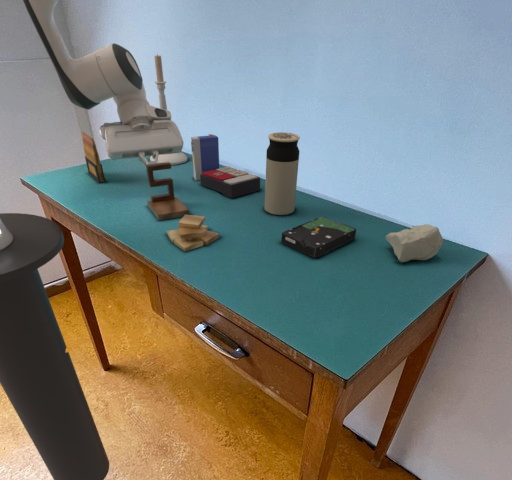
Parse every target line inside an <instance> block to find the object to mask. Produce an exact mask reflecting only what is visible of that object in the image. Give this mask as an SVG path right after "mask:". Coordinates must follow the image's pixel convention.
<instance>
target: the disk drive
mask: <svg viewBox="0 0 512 480" xmlns="http://www.w3.org/2000/svg"><path fill="white" fill-rule="evenodd" d="M356 234H357V228H355V227H352V226H350V225H348V224H344V223H343V222H340V221H338V222H337V221H335V220H332V219H330V218H327V217H326V216H323V217H322V216H320V217H317V218H313V219H312V220H309V221H307V222H304V223H301V224H299V225H297V226H295V227H292V228H290V229H287V230H284V231H282V232H281V239H280V242H281V243H283V244H284V245H286V246H288V247H290V248H292V249H295V250H296V251H299V252H300V253H303V254H305V255H307V256H309V257H311V258H314V259H316V258H318V257H321V256H323V255H324V254H327V253H329V252H330V251H333V250H335V249H336V248H338V247H341V246H343V245H345V244H348V243H349V242H351V241H353V240H355V239H356Z"/></svg>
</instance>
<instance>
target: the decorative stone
mask: <svg viewBox="0 0 512 480" xmlns="http://www.w3.org/2000/svg"><path fill="white" fill-rule="evenodd" d="M385 241H386V242H388V243H389V244H390V245H391V247H392V249H393V254H394V255H395V256H396V257H397V260H398V261H399V263H406V262H409V261H427V260H429V259H431V258H433V257H434V256H436V255H437V254H438V253H439V252H440V249H441V248H442V246H443V244H444V238H443V236H442V233H441V232H440V229H439V227H438V226H433V225H431V224H427V223H426V224H421V225H412V227H411V228H410V229H409V228H404V229H402V230H400V231H397V232H388V233H387V235H386V236H385Z"/></svg>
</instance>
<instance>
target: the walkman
mask: <svg viewBox="0 0 512 480" xmlns="http://www.w3.org/2000/svg"><path fill="white" fill-rule="evenodd" d="M190 146H191V147H190V148H191V155H192V166H193V167H192V168H193V178H194V180H195V181H201V180H200V175H201V174H202V172H207V171H211V170H216V169H219V168H220V150H219V148H220V147H219V137H218V135H215V134H212V133H209V134H208V135H199V136H190Z"/></svg>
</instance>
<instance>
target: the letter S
mask: <svg viewBox="0 0 512 480" xmlns="http://www.w3.org/2000/svg"><path fill="white" fill-rule="evenodd" d="M145 169H146V175H147V176H146V177H147V183H148V186H149V188H157V187H163V186H167V193H163V194H156V195H150V200H147V201H146V203H147V207H148V208H149V210H150V211H151V212H152V214H153V215H154V217H156V219H157V220H158V221H159V222H160V221H165V220H171V219H177V218H183V217H184V215H190V209H189V208H188V207H187V206H186V205H185V204H184V203H183V202H182V201H181V199H179V198H178V197H177V196H175V189H174V179H173V178H172V177H166V178H159V179H155V177H154V172H155V171H163V170H171V169H172V165H171V163H169V162H165V163H156V164H148V165H146V166H145Z"/></svg>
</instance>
